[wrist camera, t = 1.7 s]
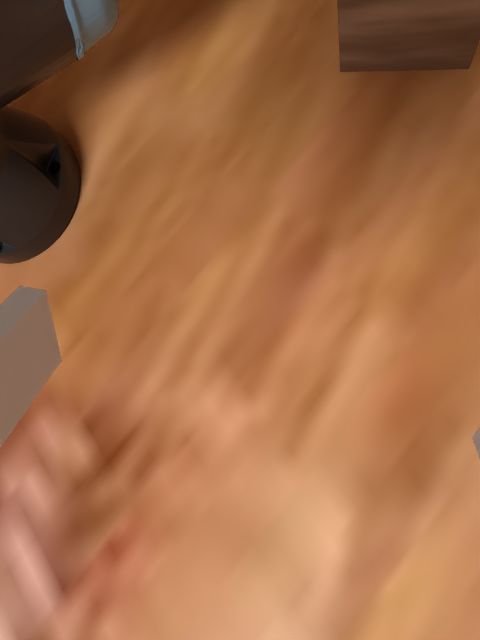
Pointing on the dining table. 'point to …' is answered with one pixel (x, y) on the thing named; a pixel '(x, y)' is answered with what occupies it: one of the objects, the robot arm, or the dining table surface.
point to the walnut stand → (407, 34)
